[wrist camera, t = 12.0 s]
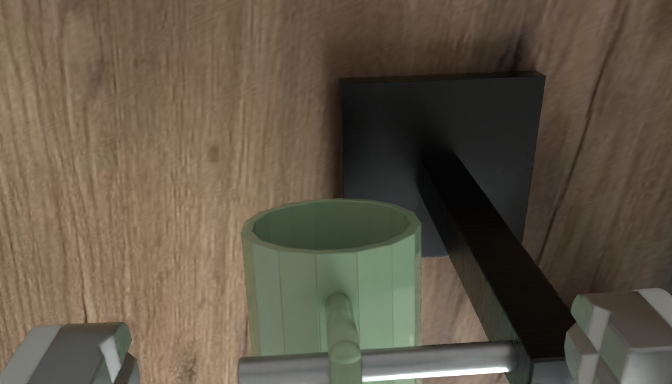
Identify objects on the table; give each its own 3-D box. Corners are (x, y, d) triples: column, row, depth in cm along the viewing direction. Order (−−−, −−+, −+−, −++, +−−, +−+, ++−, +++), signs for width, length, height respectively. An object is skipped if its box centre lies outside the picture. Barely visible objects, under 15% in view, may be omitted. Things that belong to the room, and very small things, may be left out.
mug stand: (257, 81, 27) (211, 249, 12) (536, 70, 27) (798, 216, 13) (273, 254, 31) (251, 527, 17) (513, 241, 32) (691, 492, 17)
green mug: (265, 385, 26) (251, 202, 23) (403, 375, 26) (402, 194, 24) (243, 588, 16) (213, 309, 14) (463, 569, 16) (471, 293, 14)
